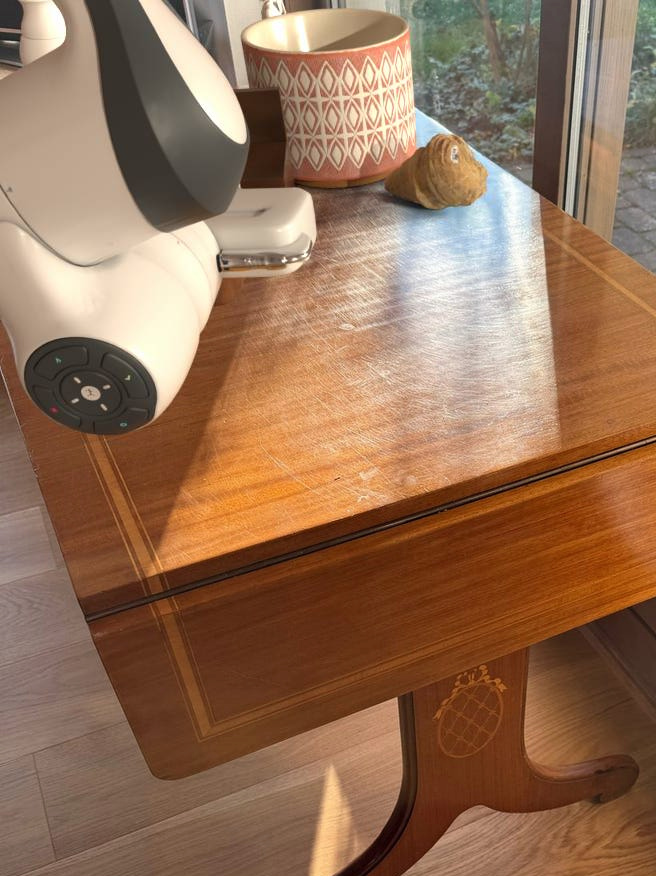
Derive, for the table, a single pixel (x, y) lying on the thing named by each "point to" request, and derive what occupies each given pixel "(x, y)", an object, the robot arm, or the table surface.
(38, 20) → the water bottle
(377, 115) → the planter
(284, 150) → the miniature wooden bench
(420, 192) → the seashell
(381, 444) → the table surface
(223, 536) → the table surface
